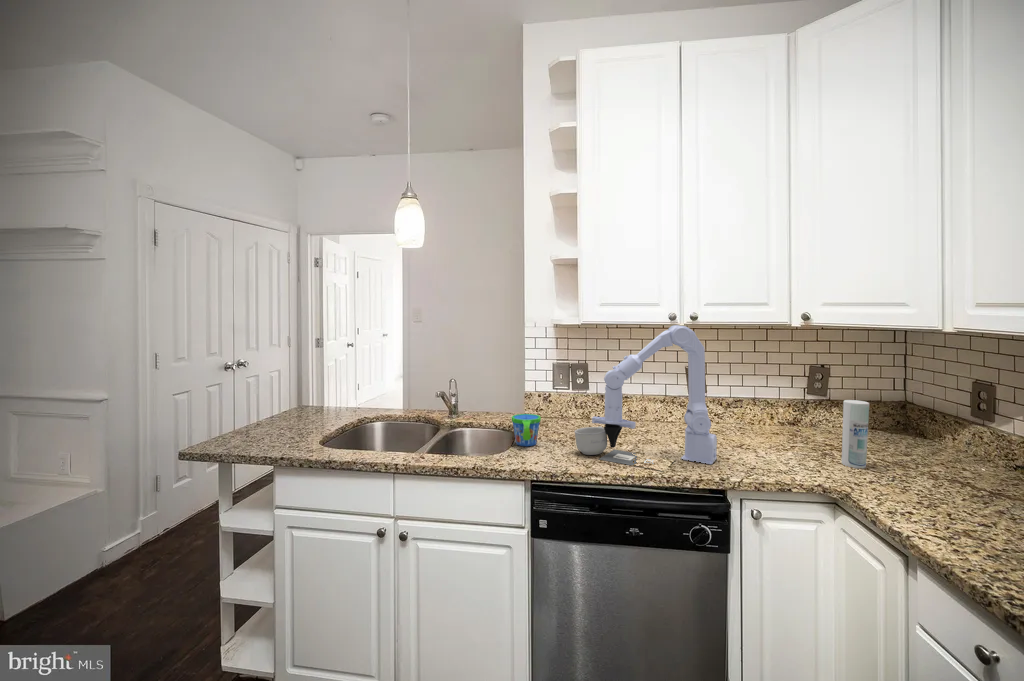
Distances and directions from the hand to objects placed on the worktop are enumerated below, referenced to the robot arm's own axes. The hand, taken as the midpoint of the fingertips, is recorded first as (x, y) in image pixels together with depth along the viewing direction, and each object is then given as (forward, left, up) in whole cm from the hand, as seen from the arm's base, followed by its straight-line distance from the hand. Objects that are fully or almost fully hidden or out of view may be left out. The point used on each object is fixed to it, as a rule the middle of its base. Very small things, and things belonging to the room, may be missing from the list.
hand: (612, 446), depth 157 cm
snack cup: (+31, +5, -3) cm, 32 cm away
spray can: (-66, -33, -3) cm, 74 cm away
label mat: (-8, 0, -3) cm, 9 cm away
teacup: (+7, 0, -3) cm, 7 cm away
